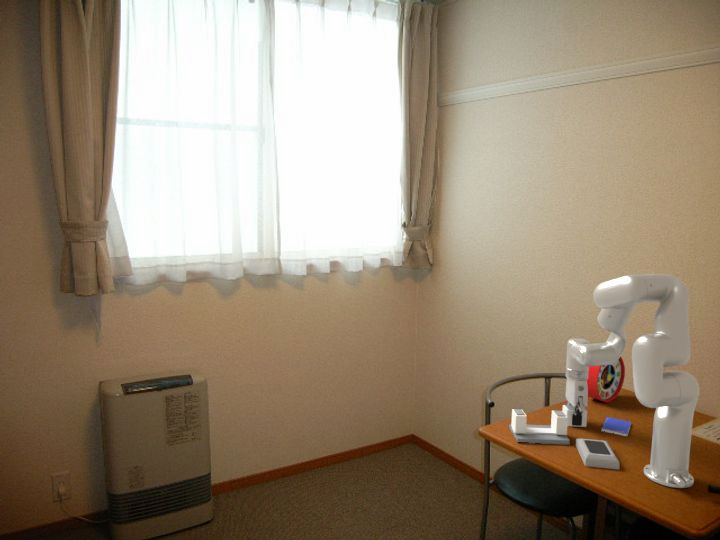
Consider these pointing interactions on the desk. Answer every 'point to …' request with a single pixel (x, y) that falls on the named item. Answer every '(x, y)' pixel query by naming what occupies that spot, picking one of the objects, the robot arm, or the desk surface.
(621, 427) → the hard drive
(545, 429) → the board
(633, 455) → the desk surface
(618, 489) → the desk surface
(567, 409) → the module block
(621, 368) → the toy clock
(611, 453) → the grey bevelled device
